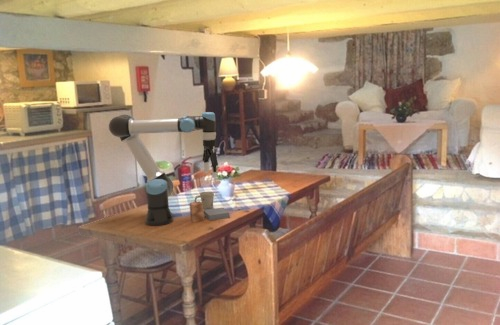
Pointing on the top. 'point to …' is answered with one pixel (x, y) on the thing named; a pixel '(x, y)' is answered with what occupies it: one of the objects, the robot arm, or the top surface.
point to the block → (196, 211)
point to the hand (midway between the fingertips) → (210, 175)
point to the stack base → (216, 214)
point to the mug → (206, 200)
